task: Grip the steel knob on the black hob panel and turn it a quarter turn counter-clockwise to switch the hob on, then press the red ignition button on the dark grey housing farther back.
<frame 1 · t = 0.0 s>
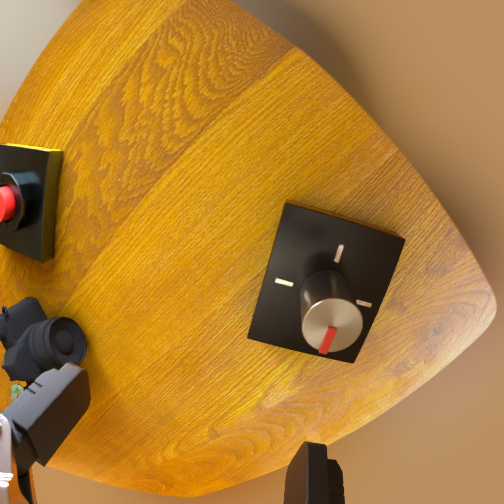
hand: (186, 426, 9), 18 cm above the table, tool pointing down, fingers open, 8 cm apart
film camera: (64, 338, 33), on the table
hob panel: (322, 281, 27), on the table
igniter: (28, 197, 28), on the table
seashell: (30, 405, 40), on the table
ignition button: (1, 204, 24), point 4 cm above the table, slide at 0.1 cm
hob knob: (328, 309, 21), point 5 cm above the table, hinge at 0.0°
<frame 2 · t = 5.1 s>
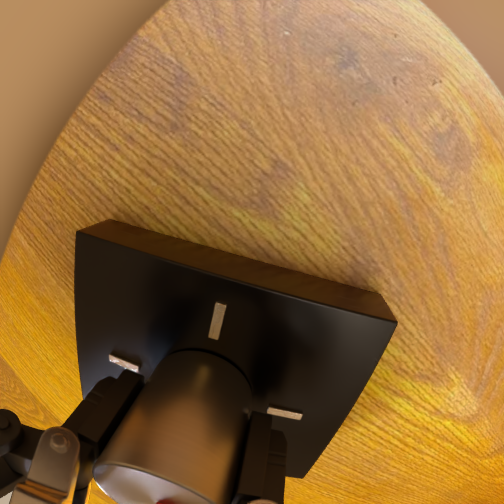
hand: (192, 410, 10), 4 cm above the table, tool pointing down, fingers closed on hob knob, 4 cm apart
hob panel: (215, 355, 14), on the table
hob knob: (180, 443, 8), point 5 cm above the table, hinge at -0.1°, touching gripper
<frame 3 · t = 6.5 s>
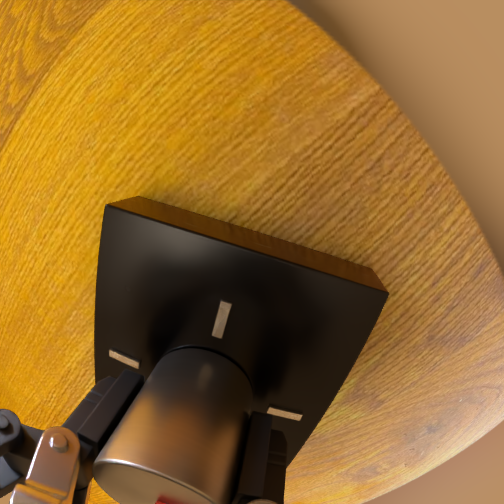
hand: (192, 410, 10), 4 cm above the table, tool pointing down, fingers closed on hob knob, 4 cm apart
hob panel: (216, 353, 14), on the table
hob knob: (180, 441, 8), point 5 cm above the table, hinge at 94.5°, touching gripper
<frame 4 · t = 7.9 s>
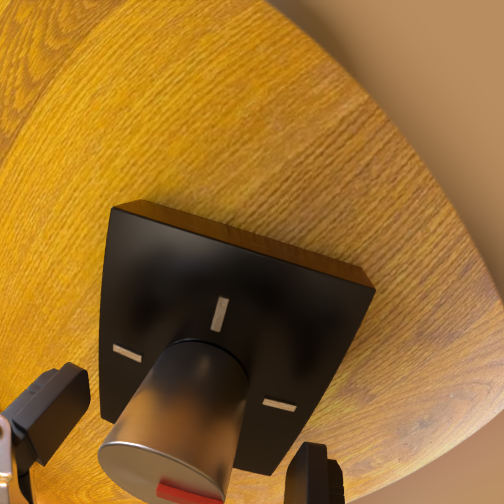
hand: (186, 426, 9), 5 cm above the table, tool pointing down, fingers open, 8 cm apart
hob panel: (214, 348, 14), on the table
hob knob: (181, 429, 9), point 5 cm above the table, hinge at 93.5°
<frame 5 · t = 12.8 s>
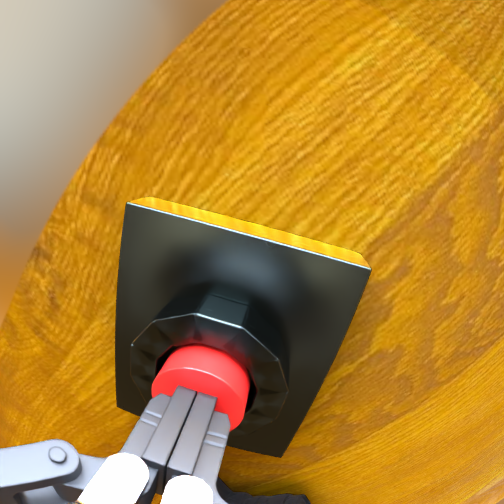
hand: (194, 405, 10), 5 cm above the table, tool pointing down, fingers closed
film camera: (255, 500, 20), on the table
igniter: (223, 336, 15), on the table
ignition button: (201, 391, 11), point 4 cm above the table, slide at -0.1 cm, touching gripper
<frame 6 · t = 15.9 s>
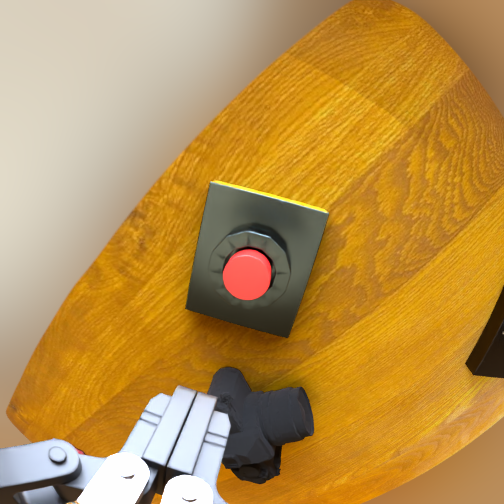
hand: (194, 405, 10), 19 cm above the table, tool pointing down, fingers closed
film camera: (268, 403, 33), on the table
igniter: (254, 257, 28), on the table
ignition button: (247, 274, 24), point 4 cm above the table, slide at 0.1 cm
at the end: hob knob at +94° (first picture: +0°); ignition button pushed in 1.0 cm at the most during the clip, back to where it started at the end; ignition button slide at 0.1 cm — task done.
